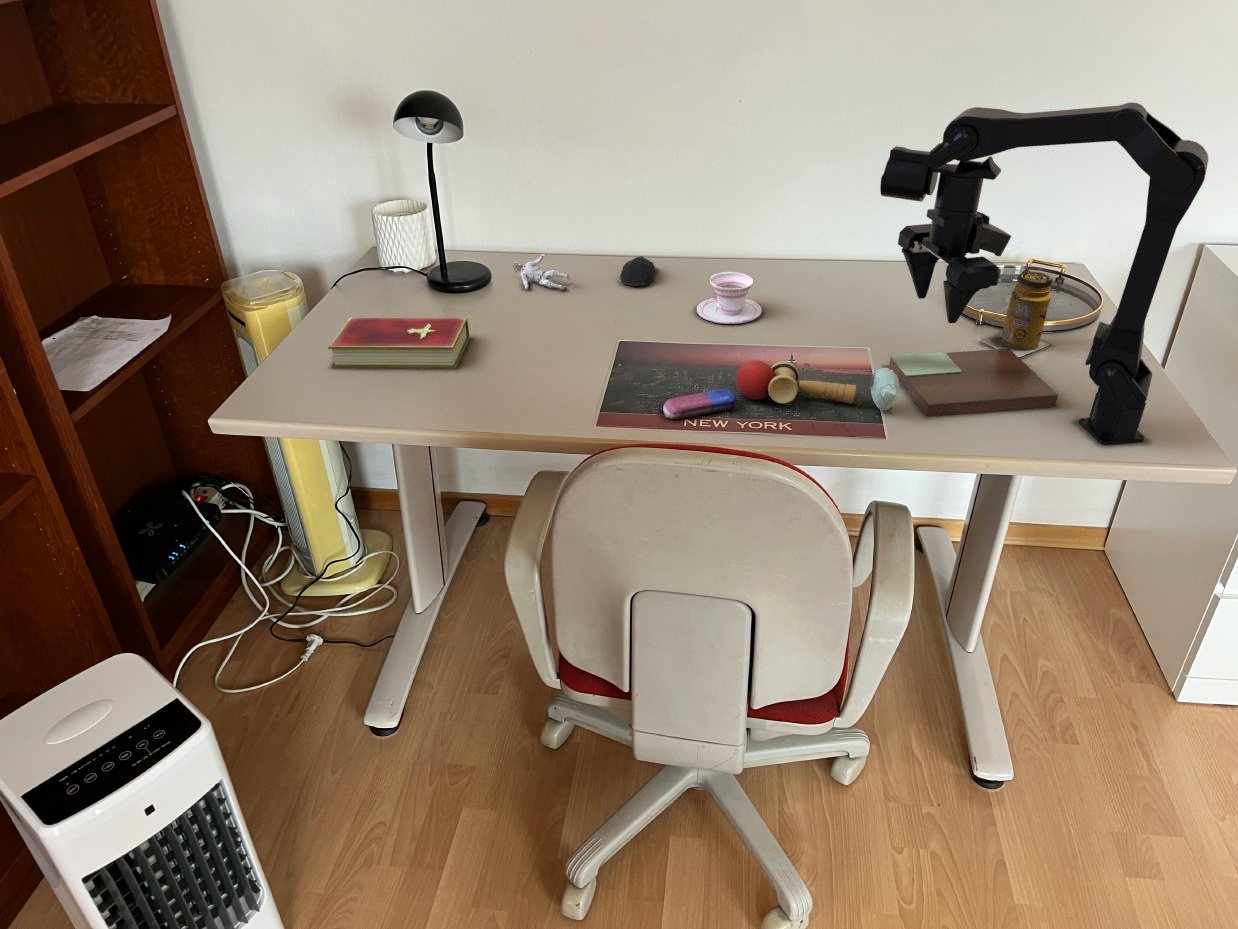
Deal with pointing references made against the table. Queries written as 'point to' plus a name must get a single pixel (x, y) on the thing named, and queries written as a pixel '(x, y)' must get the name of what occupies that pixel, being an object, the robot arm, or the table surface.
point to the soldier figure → (538, 274)
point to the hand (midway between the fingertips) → (936, 310)
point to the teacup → (729, 300)
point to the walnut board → (971, 382)
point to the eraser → (699, 404)
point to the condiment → (1025, 315)
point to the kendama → (786, 383)
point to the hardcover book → (400, 343)
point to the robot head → (884, 388)
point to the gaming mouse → (637, 272)
